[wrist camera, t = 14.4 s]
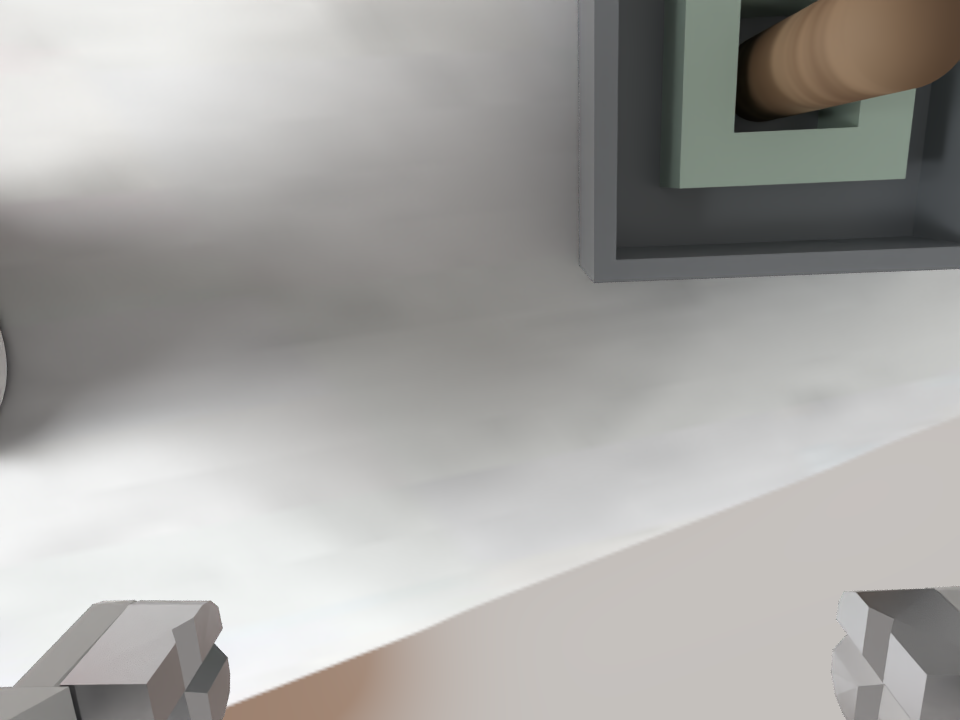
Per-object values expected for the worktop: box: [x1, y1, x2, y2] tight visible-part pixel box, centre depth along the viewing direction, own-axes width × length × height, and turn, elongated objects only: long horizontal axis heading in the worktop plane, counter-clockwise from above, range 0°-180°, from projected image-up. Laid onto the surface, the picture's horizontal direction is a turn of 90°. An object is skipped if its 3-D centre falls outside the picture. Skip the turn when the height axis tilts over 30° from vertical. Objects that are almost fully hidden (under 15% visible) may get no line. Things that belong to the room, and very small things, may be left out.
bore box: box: [578, 0, 960, 283], centre depth 31 cm, size 18×18×6 cm
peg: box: [735, 0, 960, 122], centre depth 27 cm, size 4×4×12 cm
